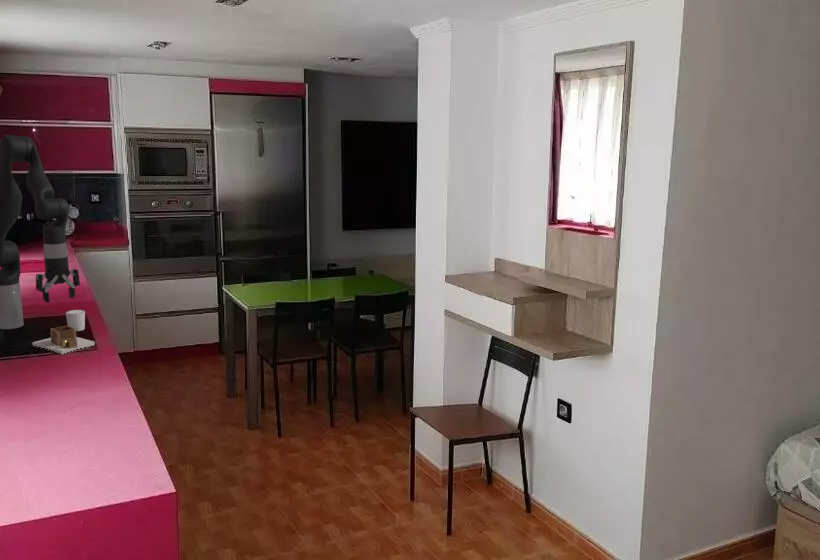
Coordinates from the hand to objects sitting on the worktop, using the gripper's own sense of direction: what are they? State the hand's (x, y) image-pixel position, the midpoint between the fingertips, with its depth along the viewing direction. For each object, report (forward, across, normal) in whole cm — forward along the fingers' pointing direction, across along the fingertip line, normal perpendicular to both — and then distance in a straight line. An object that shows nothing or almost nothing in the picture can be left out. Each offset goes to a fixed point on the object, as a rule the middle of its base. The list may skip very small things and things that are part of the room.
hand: (59, 300), depth 259 cm
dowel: (+15, +2, +7) cm, 17 cm away
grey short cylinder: (+17, -12, -15) cm, 26 cm away
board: (+17, 0, +1) cm, 17 cm away
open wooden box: (+15, 0, +4) cm, 16 cm away
